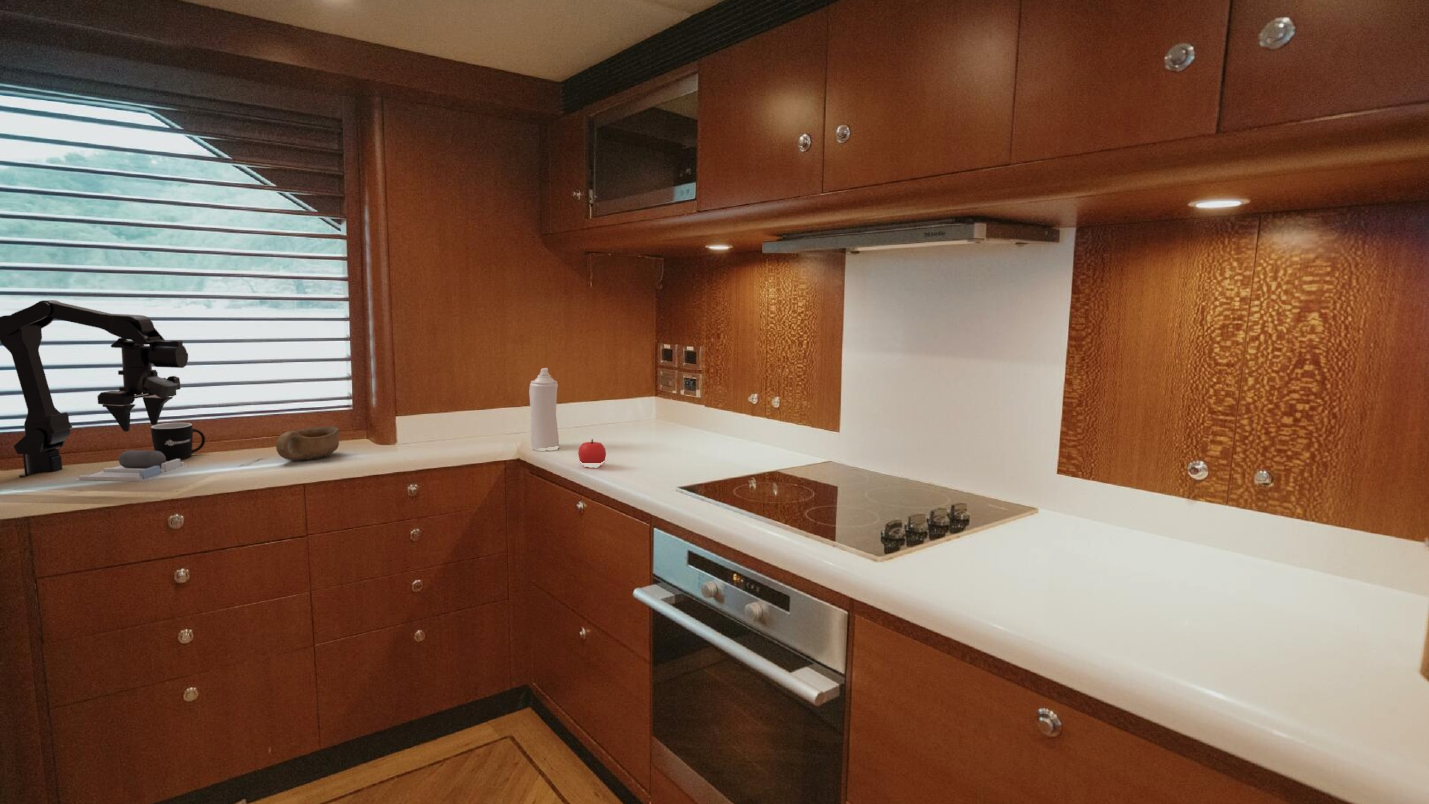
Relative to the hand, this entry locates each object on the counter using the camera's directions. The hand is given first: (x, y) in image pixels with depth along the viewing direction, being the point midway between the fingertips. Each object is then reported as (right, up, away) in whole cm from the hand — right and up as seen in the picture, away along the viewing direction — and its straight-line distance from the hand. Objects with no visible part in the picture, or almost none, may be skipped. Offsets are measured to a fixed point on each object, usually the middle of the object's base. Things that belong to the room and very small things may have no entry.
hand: (140, 428), depth 184 cm
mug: (-1, -10, +16) cm, 19 cm away
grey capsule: (-1, -10, +2) cm, 11 cm away
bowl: (+30, -10, +23) cm, 39 cm away
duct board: (0, -12, -1) cm, 12 cm away
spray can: (+91, -8, +47) cm, 103 cm away
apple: (+110, -12, +24) cm, 113 cm away
